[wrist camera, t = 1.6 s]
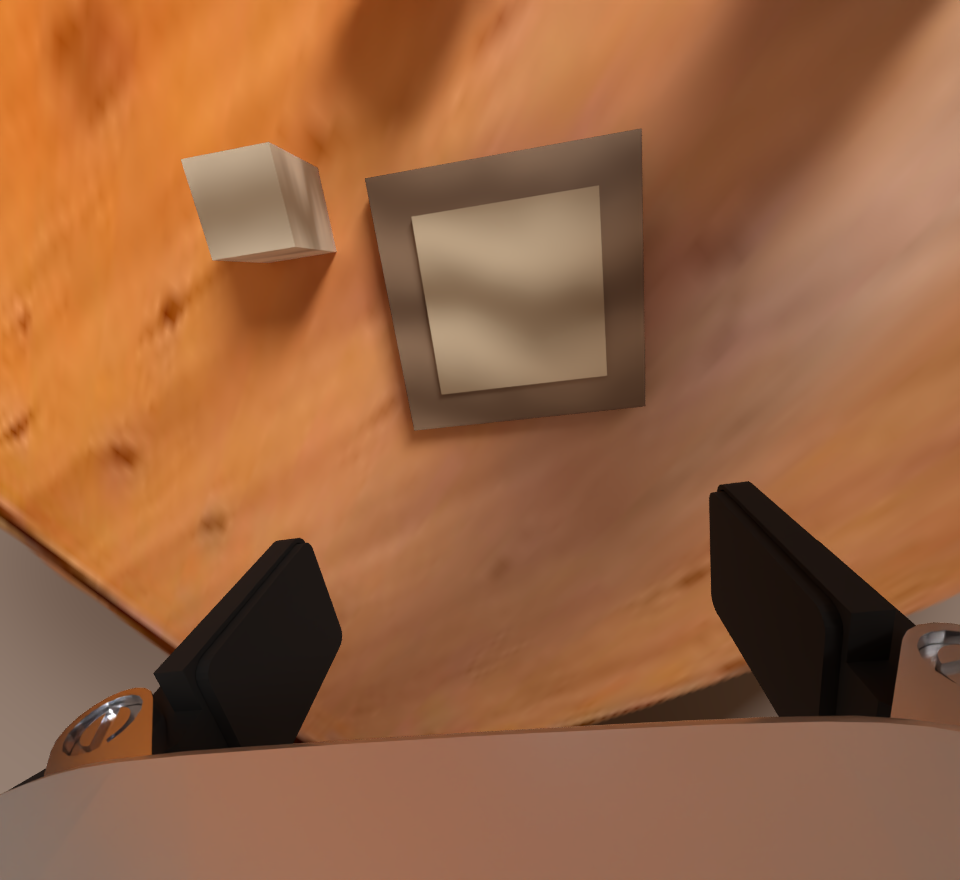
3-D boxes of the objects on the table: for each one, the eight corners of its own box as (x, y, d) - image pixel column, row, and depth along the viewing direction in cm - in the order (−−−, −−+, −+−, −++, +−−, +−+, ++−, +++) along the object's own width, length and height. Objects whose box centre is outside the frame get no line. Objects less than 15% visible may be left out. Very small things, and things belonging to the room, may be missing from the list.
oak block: (246, 181, 29) (181, 159, 24) (317, 168, 29) (268, 142, 23) (268, 262, 31) (212, 260, 25) (337, 251, 30) (295, 246, 25)
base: (374, 184, 29) (362, 176, 26) (633, 138, 27) (643, 125, 24) (420, 422, 34) (412, 432, 32) (638, 398, 32) (647, 408, 30)
